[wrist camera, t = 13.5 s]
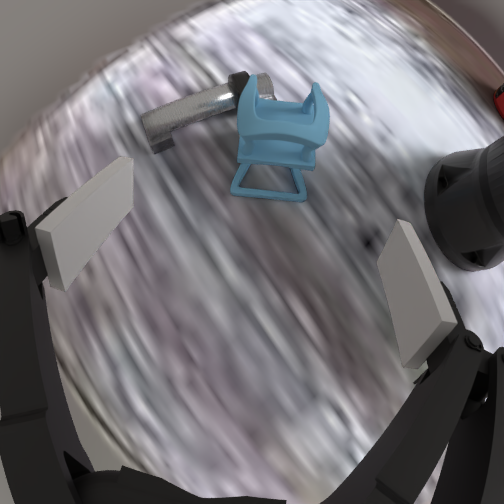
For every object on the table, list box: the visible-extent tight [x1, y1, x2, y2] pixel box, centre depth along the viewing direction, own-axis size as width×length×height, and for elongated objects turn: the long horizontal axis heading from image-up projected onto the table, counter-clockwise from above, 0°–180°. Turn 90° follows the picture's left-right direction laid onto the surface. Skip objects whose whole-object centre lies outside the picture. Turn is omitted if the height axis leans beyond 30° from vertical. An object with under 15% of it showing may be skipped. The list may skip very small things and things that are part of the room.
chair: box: [230, 74, 330, 202], centre depth 26 cm, size 8×8×12 cm
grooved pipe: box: [141, 71, 277, 154], centre depth 30 cm, size 14×5×5 cm, turn 113°
